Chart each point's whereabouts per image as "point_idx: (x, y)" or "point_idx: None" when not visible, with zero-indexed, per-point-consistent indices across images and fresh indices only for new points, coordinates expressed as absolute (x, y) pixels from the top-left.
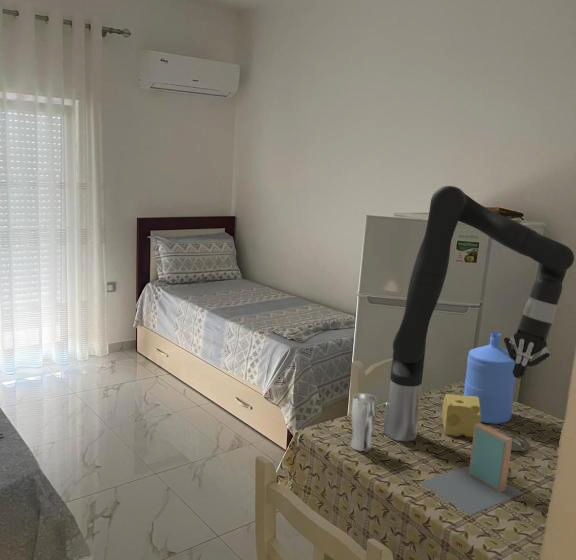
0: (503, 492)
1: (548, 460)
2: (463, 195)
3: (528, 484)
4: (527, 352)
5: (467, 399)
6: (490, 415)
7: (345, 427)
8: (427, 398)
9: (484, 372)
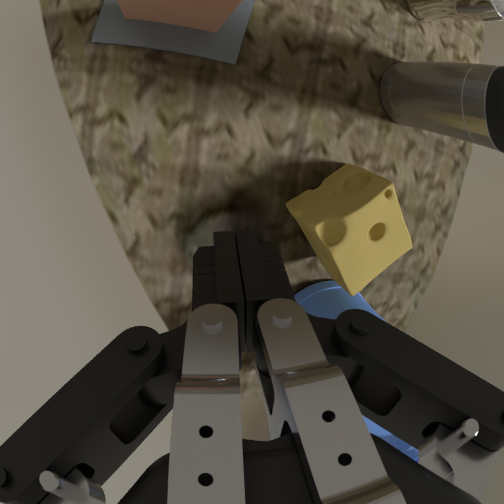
0: None
1: (127, 243)
2: None
3: (102, 95)
4: (218, 447)
5: (367, 259)
6: (304, 301)
7: (464, 60)
8: (415, 283)
9: None
